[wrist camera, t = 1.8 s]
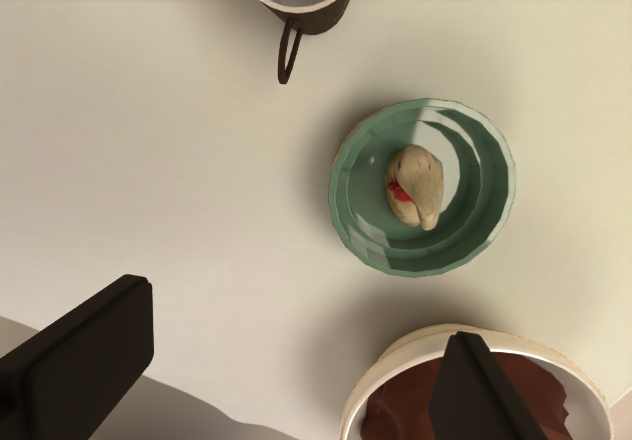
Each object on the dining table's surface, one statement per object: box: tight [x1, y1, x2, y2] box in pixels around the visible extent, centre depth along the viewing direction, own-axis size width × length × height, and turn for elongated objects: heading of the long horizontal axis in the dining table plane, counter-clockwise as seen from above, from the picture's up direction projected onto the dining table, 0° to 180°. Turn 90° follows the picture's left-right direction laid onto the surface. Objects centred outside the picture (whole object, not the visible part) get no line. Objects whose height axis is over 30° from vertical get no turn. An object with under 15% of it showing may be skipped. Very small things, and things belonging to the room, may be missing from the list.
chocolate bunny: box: [384, 144, 445, 230], centre depth 26 cm, size 6×8×10 cm
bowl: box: [328, 98, 515, 278], centre depth 28 cm, size 15×15×6 cm
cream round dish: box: [339, 324, 615, 440], centre depth 31 cm, size 25×25×15 cm
